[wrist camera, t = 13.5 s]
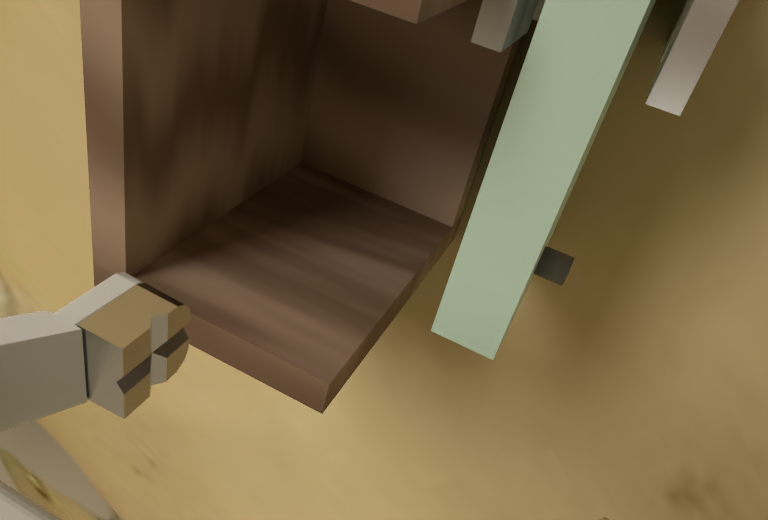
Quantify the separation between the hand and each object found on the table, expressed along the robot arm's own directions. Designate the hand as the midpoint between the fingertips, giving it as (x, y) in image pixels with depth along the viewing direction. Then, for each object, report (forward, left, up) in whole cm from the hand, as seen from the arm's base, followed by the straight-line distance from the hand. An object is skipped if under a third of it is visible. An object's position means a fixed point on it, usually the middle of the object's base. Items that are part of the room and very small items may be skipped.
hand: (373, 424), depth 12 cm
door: (0, 0, -21) cm, 21 cm away
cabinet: (0, -5, -21) cm, 21 cm away
